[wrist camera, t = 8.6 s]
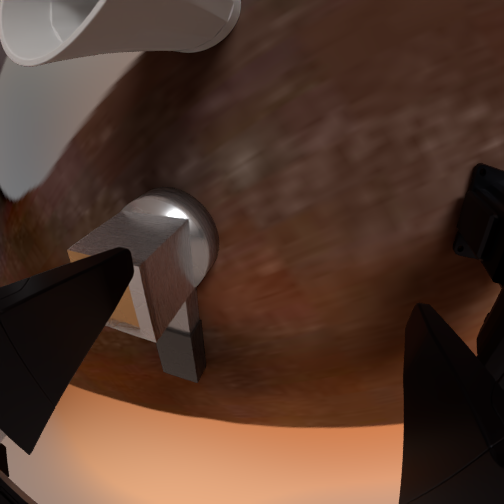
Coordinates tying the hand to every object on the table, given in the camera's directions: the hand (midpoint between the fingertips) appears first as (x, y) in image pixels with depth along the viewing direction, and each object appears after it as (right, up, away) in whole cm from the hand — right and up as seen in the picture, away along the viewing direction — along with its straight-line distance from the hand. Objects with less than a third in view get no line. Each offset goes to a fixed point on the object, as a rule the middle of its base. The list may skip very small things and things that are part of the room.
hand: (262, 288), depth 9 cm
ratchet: (-7, -3, +18) cm, 20 cm away
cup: (-4, +17, +6) cm, 18 cm away
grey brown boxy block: (-7, +1, +13) cm, 15 cm away
